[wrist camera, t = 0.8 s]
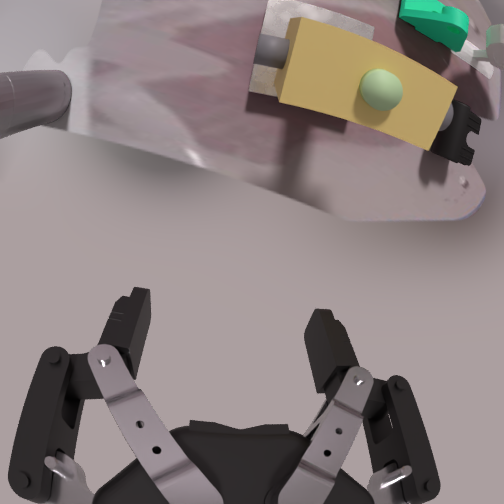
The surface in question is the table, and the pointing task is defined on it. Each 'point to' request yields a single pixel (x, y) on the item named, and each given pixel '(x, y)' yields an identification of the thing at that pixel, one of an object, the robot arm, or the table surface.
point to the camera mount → (437, 21)
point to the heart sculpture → (485, 52)
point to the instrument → (357, 81)
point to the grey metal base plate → (277, 24)
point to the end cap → (457, 135)
